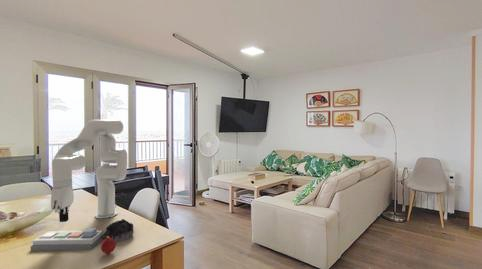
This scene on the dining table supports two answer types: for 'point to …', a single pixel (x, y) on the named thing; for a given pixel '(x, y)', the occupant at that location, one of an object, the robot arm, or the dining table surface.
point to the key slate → (89, 232)
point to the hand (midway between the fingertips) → (64, 221)
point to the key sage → (62, 235)
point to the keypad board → (66, 247)
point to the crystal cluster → (119, 230)
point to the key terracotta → (76, 235)
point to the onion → (108, 245)
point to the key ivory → (48, 235)
